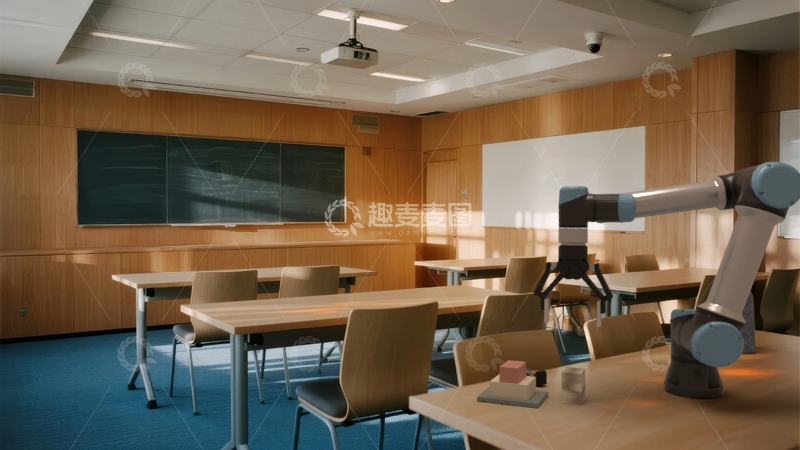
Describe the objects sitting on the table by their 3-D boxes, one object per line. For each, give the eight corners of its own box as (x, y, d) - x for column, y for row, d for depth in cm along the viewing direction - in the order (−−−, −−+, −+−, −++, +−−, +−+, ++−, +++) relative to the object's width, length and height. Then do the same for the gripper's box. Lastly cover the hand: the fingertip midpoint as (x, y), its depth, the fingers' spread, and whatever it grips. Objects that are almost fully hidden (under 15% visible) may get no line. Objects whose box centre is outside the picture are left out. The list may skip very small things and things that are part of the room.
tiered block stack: (548, 396, 172) (548, 362, 172) (537, 408, 160) (537, 372, 160) (491, 389, 179) (491, 357, 179) (477, 401, 167) (477, 366, 167)
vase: (762, 354, 229) (762, 276, 229) (728, 354, 229) (728, 276, 229) (744, 348, 241) (744, 273, 241) (712, 348, 241) (712, 273, 241)
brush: (513, 361, 196) (550, 370, 184) (513, 376, 196) (550, 386, 184) (500, 363, 193) (537, 372, 180) (500, 378, 193) (537, 388, 180)
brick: (585, 398, 170) (585, 368, 170) (581, 405, 164) (581, 374, 164) (566, 396, 172) (566, 366, 172) (561, 402, 166) (561, 372, 166)
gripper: (623, 244, 166) (623, 325, 166) (529, 243, 177) (529, 319, 177) (621, 245, 160) (620, 329, 159) (523, 243, 170) (522, 323, 170)
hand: (572, 324), depth 168 cm, fingers open, 13 cm apart
